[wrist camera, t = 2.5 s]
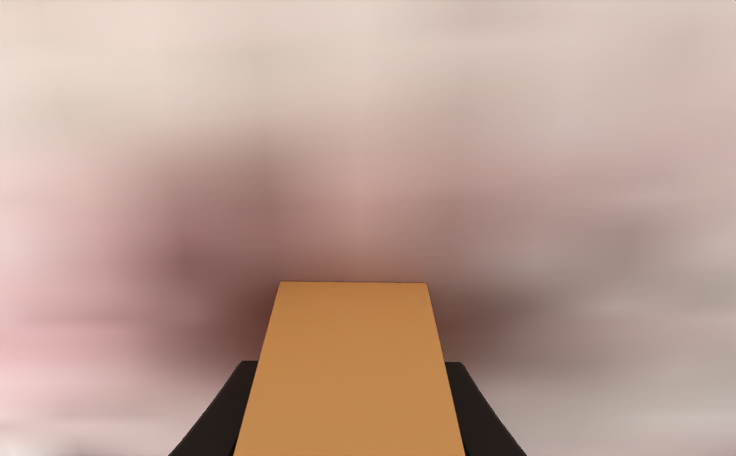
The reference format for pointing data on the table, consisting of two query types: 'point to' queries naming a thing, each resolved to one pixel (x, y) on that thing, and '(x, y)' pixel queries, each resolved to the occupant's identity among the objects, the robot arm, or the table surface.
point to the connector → (350, 375)
